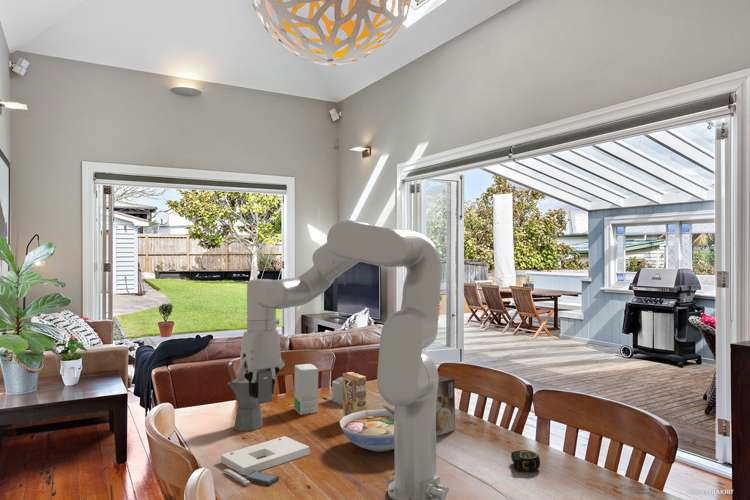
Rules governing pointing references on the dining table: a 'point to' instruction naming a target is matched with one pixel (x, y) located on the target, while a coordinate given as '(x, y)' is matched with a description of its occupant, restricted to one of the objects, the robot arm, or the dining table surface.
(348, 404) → the candy box
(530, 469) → the tape measure
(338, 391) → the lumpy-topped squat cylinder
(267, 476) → the phone
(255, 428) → the coffeepot
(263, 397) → the block
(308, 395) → the skincare box
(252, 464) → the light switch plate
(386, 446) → the ramen bowl
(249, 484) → the grey thin stick
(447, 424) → the coffee box
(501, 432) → the dining table surface
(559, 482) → the dining table surface
